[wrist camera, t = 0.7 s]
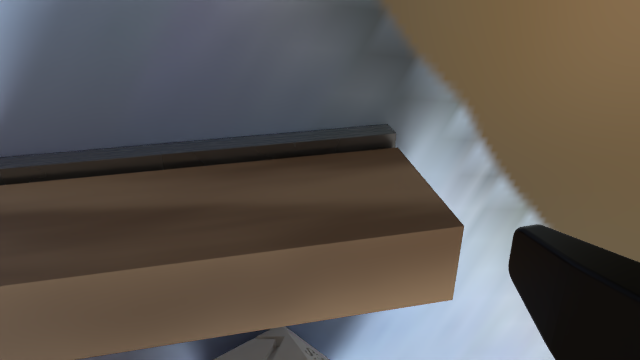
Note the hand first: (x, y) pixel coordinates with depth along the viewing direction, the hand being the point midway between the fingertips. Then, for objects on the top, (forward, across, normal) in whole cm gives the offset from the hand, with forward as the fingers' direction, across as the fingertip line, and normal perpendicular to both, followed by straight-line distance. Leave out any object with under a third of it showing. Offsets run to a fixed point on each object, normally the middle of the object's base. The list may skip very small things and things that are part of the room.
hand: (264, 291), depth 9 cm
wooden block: (+12, +1, +5) cm, 13 cm away
